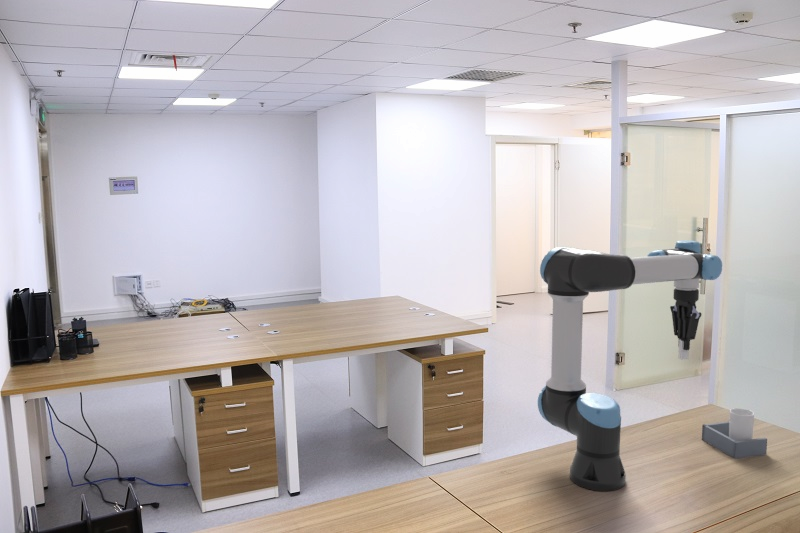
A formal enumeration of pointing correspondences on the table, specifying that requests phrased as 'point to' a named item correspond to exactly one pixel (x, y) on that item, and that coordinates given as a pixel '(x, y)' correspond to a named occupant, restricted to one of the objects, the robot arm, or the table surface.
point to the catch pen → (732, 441)
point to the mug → (741, 424)
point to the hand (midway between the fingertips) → (683, 358)
